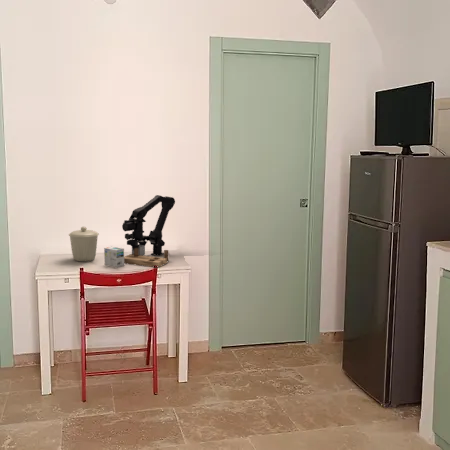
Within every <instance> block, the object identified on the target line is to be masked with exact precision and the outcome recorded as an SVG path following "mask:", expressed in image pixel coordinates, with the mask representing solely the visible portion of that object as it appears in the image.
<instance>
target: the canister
mask: <svg viewBox="0 0 450 450" xmlns="http://www.w3.org/2000/svg"><path fill="white" fill-rule="evenodd" d="M99 235H100V234H99V233H98V232H97V231H95V230H92V229H87V227H86V226H81V227H80V229H77V230H73V231H71V232H70V233H68V236H69V240H70V247H71V253H72V258H73V260H74V261H76V262H83V263H84V262H91V261H93V260H94V259H96V255H97V248H98V247H97V246H98V236H99Z"/></svg>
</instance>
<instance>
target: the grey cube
mask: <svg viewBox="0 0 450 450" xmlns="http://www.w3.org/2000/svg"><path fill="white" fill-rule="evenodd" d="M131 254H134V250H133V247H132V246H131ZM145 254H146V245H139V248H138V255H143V256H146V255H145Z"/></svg>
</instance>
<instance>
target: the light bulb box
mask: <svg viewBox="0 0 450 450" xmlns="http://www.w3.org/2000/svg"><path fill="white" fill-rule="evenodd" d="M103 249H104V252H103V253H104V255H103V256H104V265H105V266H108V267H113V268H120V267H124V266H125V263H124V257H125V248H122V247H118V246H113V245H110V246H108V247H107V246H106V247H103Z"/></svg>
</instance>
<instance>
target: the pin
mask: <svg viewBox="0 0 450 450" xmlns="http://www.w3.org/2000/svg"><path fill="white" fill-rule="evenodd" d="M163 253H164V254H163V258H167V261H168V262H169V250H168V249H164V250H163Z"/></svg>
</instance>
